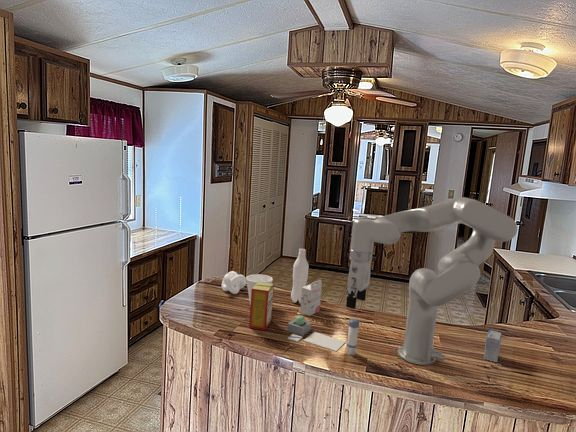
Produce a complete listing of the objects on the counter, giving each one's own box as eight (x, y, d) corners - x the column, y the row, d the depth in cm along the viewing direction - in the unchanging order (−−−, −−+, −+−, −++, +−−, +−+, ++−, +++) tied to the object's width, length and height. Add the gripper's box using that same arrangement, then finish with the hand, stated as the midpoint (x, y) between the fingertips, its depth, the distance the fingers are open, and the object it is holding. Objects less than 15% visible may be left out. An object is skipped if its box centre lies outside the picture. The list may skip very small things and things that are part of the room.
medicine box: (496, 363, 140) (500, 340, 138) (482, 359, 142) (486, 336, 141) (498, 355, 146) (502, 332, 145) (485, 351, 149) (488, 329, 147)
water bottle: (309, 302, 186) (313, 249, 182) (298, 305, 180) (303, 251, 177) (297, 297, 190) (301, 246, 187) (287, 300, 185) (291, 248, 181)
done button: (305, 326, 155) (306, 316, 154) (301, 329, 152) (302, 319, 151) (297, 324, 156) (298, 314, 156) (293, 327, 153) (294, 317, 153)
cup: (270, 311, 171) (272, 283, 169) (242, 309, 171) (244, 281, 169) (271, 301, 183) (273, 275, 181) (246, 299, 183) (247, 273, 181)
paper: (345, 342, 147) (345, 341, 147) (336, 351, 139) (336, 350, 139) (314, 332, 153) (314, 331, 153) (303, 341, 146) (303, 340, 146)
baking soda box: (265, 330, 152) (268, 290, 150) (249, 327, 154) (251, 287, 151) (271, 320, 162) (274, 282, 159) (255, 318, 163) (258, 280, 160)
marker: (357, 352, 140) (360, 320, 138) (353, 356, 137) (357, 323, 135) (348, 349, 142) (351, 318, 140) (344, 353, 139) (347, 321, 137)
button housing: (311, 329, 156) (311, 322, 155) (303, 336, 150) (303, 328, 149) (295, 324, 159) (296, 317, 159) (286, 331, 153) (287, 323, 153)
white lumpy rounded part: (214, 290, 192) (215, 272, 190) (232, 285, 201) (233, 268, 200) (229, 296, 185) (230, 278, 183) (248, 291, 194) (249, 273, 192)
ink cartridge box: (310, 307, 178) (313, 276, 176) (319, 311, 176) (322, 279, 173) (299, 313, 172) (302, 280, 170) (308, 316, 169) (311, 283, 167)
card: (302, 337, 148) (302, 336, 148) (297, 341, 145) (297, 340, 144) (292, 334, 150) (292, 333, 150) (287, 338, 147) (287, 337, 146)
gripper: (363, 262, 125) (357, 314, 128) (379, 253, 140) (373, 299, 143) (341, 258, 129) (335, 308, 131) (358, 249, 144) (354, 294, 146)
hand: (355, 303), depth 137 cm, fingers open, 9 cm apart
